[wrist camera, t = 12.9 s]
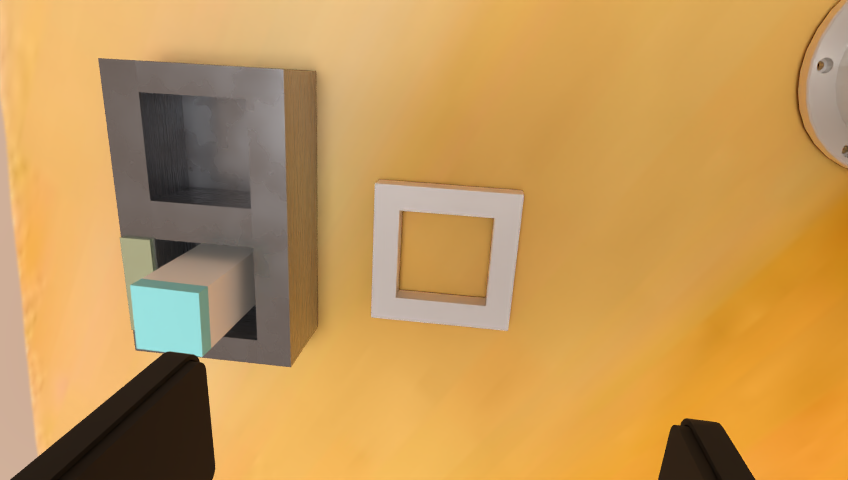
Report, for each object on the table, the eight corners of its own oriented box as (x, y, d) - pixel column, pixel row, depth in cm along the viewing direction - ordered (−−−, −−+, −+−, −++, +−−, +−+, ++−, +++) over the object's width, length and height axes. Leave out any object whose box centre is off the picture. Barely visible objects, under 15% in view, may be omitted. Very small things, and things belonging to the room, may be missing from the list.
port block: (315, 71, 34) (281, 69, 28) (317, 326, 40) (289, 369, 34) (159, 61, 35) (94, 58, 29) (183, 312, 41) (132, 352, 35)
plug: (263, 243, 37) (198, 293, 28) (264, 295, 38) (202, 357, 30) (210, 238, 37) (129, 285, 29) (213, 288, 38) (136, 348, 30)
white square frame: (522, 190, 35) (523, 194, 34) (506, 321, 38) (507, 330, 37) (378, 179, 36) (374, 183, 35) (375, 308, 39) (371, 317, 38)
